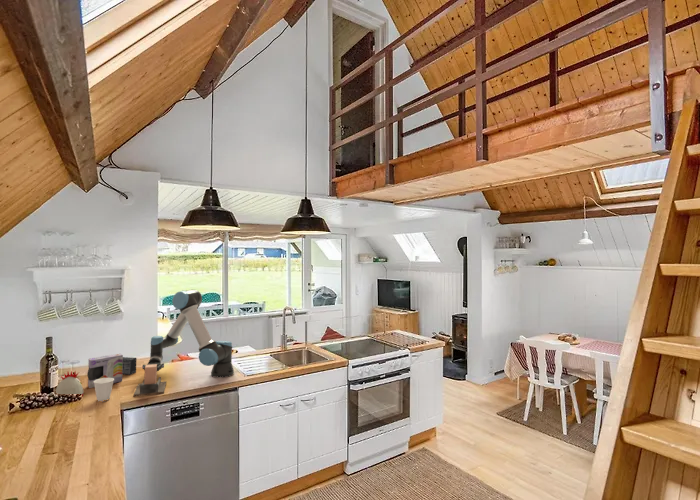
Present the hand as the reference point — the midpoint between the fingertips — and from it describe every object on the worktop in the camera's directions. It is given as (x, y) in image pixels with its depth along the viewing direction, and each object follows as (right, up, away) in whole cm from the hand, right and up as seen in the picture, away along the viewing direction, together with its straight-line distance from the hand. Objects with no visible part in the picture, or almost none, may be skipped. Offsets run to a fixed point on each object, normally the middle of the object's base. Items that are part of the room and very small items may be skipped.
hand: (150, 373), depth 238 cm
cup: (-17, -9, -18) cm, 27 cm away
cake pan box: (-32, -9, +7) cm, 35 cm away
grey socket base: (0, -10, 0) cm, 10 cm away
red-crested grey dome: (-39, -9, -16) cm, 43 cm away
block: (+1, -9, -3) cm, 9 cm away
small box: (-32, -10, +30) cm, 45 cm away
